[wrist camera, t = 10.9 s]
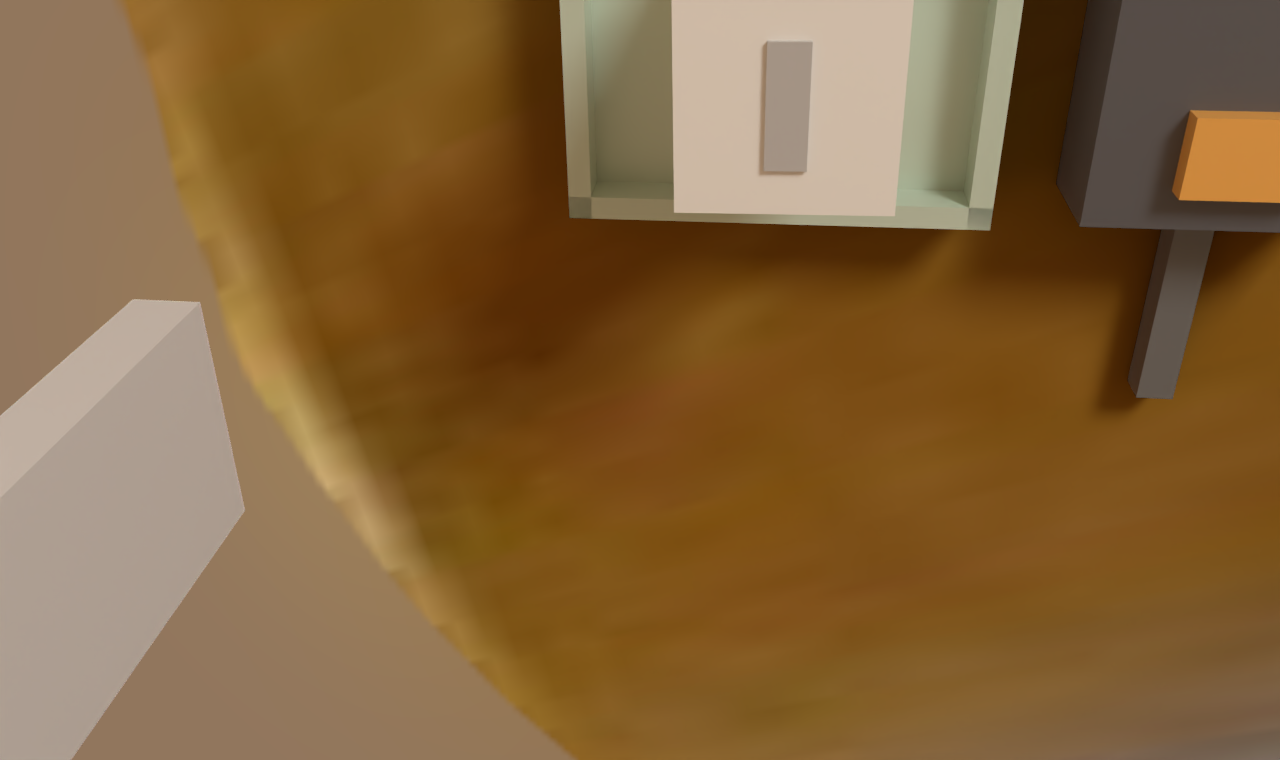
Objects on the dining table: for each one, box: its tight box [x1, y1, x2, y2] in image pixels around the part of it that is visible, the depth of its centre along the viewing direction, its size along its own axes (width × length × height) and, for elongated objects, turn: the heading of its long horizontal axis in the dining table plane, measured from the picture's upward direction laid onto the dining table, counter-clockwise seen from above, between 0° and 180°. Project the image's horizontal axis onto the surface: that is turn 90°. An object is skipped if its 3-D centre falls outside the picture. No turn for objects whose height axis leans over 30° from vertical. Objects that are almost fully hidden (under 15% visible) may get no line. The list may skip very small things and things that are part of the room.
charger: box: [671, 0, 914, 216], centre depth 25 cm, size 4×4×9 cm
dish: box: [560, 0, 1024, 230], centre depth 29 cm, size 11×11×2 cm
